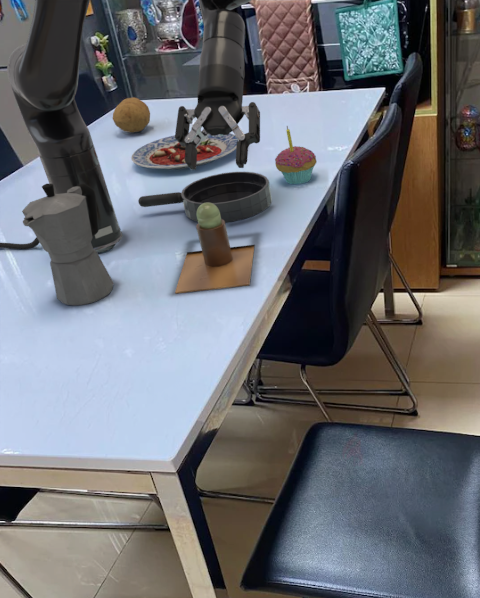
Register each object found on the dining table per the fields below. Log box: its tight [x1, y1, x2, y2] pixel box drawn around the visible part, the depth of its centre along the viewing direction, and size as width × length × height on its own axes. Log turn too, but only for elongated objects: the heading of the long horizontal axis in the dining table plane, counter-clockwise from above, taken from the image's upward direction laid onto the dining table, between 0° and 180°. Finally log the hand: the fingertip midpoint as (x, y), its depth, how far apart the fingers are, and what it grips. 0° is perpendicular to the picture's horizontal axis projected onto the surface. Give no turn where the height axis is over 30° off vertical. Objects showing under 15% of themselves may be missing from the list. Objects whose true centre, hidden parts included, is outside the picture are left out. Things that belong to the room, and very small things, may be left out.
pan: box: [181, 171, 273, 223], centre depth 138 cm, size 17×17×4 cm
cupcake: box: [274, 125, 317, 185], centre depth 144 cm, size 9×8×12 cm
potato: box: [112, 97, 151, 134], centre depth 189 cm, size 10×14×8 cm
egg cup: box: [195, 202, 233, 267], centre depth 118 cm, size 5×5×10 cm
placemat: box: [174, 244, 256, 294], centre depth 121 cm, size 12×20×1 cm, turn 3°
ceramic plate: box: [130, 132, 239, 170], centre depth 168 cm, size 26×26×3 cm
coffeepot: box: [21, 183, 115, 306], centre depth 112 cm, size 15×9×18 cm, turn 159°
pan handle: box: [138, 191, 183, 208], centre depth 138 cm, size 9×2×2 cm, turn 93°
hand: (215, 166), depth 119 cm, fingers open, 8 cm apart
